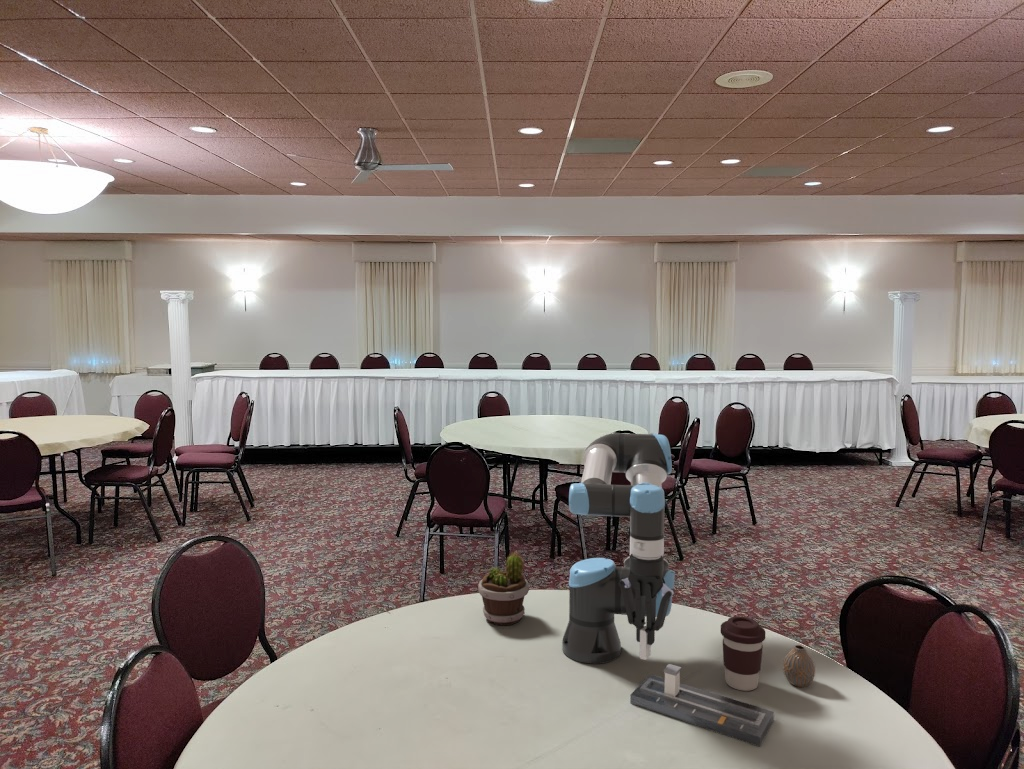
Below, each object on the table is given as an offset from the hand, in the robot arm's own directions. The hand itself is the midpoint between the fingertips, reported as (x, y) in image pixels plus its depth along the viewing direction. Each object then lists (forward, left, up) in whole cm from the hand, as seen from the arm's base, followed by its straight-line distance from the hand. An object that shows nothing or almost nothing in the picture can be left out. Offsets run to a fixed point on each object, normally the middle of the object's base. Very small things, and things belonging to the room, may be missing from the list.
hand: (645, 656), depth 153 cm
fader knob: (+6, 0, -7) cm, 9 cm away
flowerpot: (-50, +15, -9) cm, 53 cm away
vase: (+28, +25, -9) cm, 39 cm away
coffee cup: (+17, +17, -9) cm, 26 cm away
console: (+13, 0, -9) cm, 16 cm away
